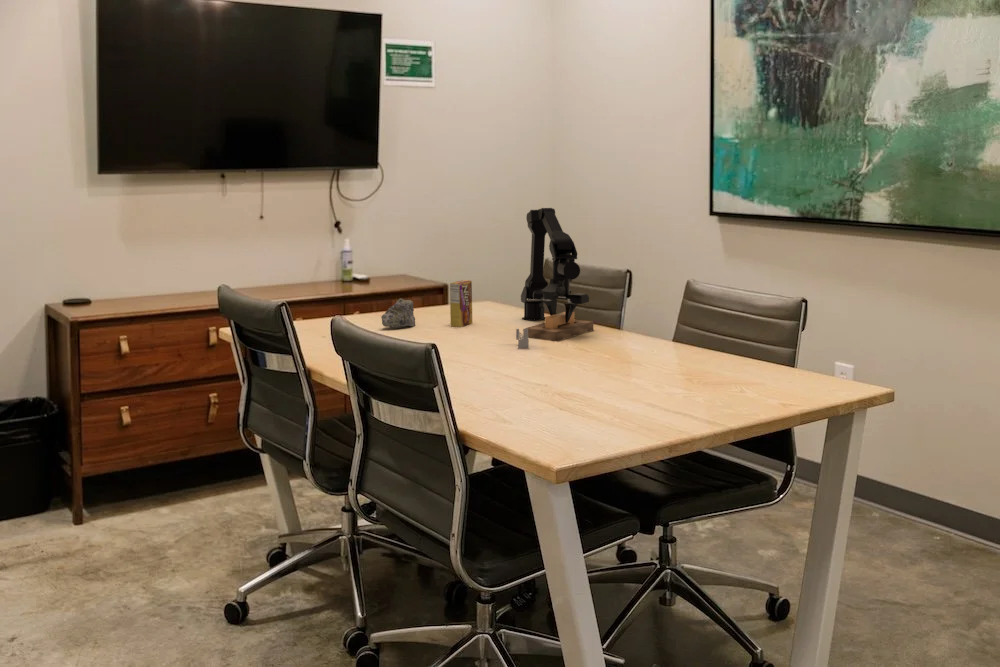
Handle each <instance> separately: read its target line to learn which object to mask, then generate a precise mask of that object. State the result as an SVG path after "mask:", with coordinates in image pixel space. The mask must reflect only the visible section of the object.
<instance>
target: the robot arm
mask: <svg viewBox="0 0 1000 667" xmlns="http://www.w3.org/2000/svg"><path fill="white" fill-rule="evenodd" d="M526 222H527V228H528V230H529V231H530V233H531V244H530V245H531V246H530V248H531V249H530V270H529V272H530V273H529V275H528V276H527V278H526V280H524V281H525V282H524V287H523V289H522V292H521V294H520V301H521V303H523V304H524V307H523V309H524V312H523V313H524V314H523V315H524V316H523V317H521V320H527V321H533V322H537V321H541V320H545V317H546V316H545V306H546V307H547V309H548V312H549V314H550V315H549V316H551V315H555V314H557V308H558V307H557V306H558V300H565V301H566V300H567V302H564V303H563V305H564V306H565V312H566V314H565V322H566V323H568V322H569V319H570V317H571V315H572V313H573V312H575V310H576V307H577V306H578V305H583V304H586V303H589V302H590V296H589V294H588V293H583V292H577V293H572V290H571V289H570V285H571V284H570V282H572V281H573V280H575V279H577V278H578V277H579V275H580V273H581V268H580V264H578V262H577V263H576V262H575V260H578V251H577V248H576V245H575V242H574V241H573V239H572V238H571V236H570V235H569V234H568V233H566V232H564V230H563V227H562V226H561V224H560V222H559V219H558V217H557V215H556V210H555V208H553V207H541V208H538V209H530V210H529V211H528V212H527V214H526ZM546 235H548V237H549V245H548V246H549V247H548V249H549V252H550V254H551V257H552V258H551V260H552V278H550V280H549V283H548V281H547V280H546V278H545V276H544V267H545V266H544V264H545V263H544V262H545V246H546V245H545V243H546ZM544 305H545V306H544Z"/></svg>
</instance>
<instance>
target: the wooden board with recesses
mask: <svg viewBox="0 0 1000 667" xmlns="http://www.w3.org/2000/svg"><path fill="white" fill-rule="evenodd" d="M527 328H528V339H538V340H544V341H545V340H546V341H553V342H559V341H562V340H565V339H569V338H573V337H576V336H579V335H582V334H586V333H589V332H593V331H594V321H591V320H582V319H574V324H562V325H558V328H556V329H549V328H545V322H543V323H539V324H535V325H532V326H527V327H525V329H527Z"/></svg>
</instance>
